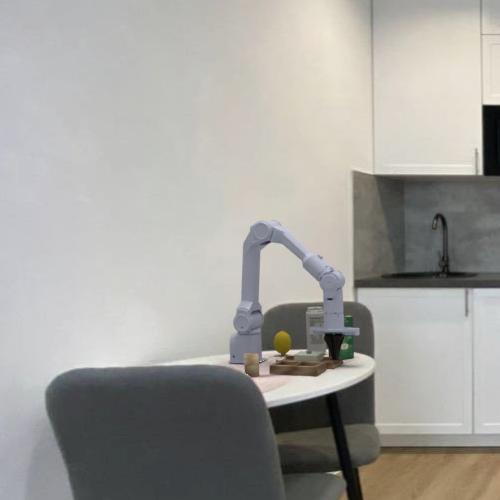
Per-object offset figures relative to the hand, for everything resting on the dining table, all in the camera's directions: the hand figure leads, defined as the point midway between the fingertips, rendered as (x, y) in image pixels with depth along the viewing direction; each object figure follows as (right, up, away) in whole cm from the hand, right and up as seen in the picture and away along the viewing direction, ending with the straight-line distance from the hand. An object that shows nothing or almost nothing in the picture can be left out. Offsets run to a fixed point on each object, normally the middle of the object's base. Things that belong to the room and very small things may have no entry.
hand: (335, 359), depth 210 cm
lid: (-7, -1, +3) cm, 8 cm away
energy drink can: (-3, -2, +20) cm, 21 cm away
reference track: (-7, -2, +3) cm, 8 cm away
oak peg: (-24, -3, -9) cm, 26 cm away
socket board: (-11, -3, -7) cm, 13 cm away
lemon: (-14, -2, +21) cm, 25 cm away
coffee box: (+3, -2, +11) cm, 11 cm away
